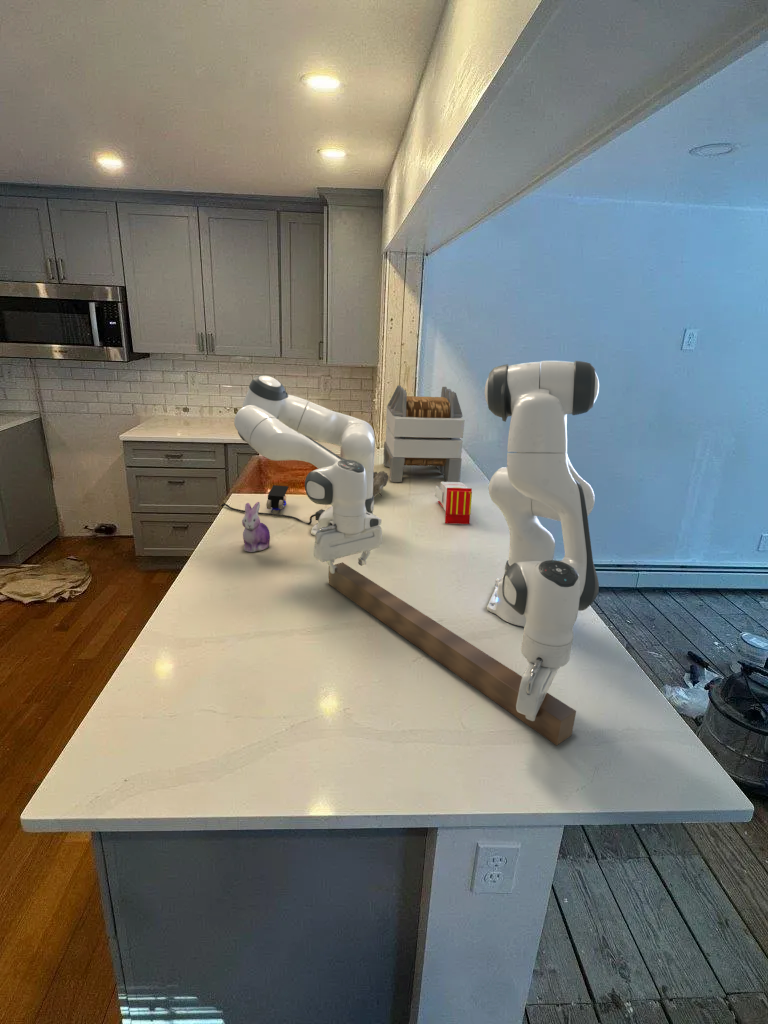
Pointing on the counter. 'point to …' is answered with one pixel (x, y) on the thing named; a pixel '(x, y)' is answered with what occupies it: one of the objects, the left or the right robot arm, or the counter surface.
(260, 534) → the figurine
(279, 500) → the figurine character
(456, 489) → the red striped box
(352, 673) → the counter surface
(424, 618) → the beam
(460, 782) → the counter surface
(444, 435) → the white boxy stand
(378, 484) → the fossil
